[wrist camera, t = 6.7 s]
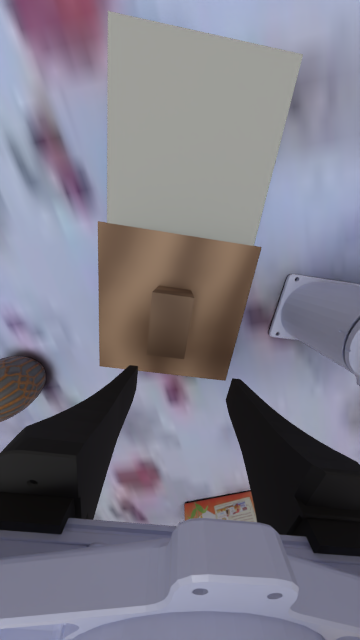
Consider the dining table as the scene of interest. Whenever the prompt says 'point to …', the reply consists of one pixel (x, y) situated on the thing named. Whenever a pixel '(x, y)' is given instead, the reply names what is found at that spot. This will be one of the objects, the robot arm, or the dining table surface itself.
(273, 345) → the dining table surface
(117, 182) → the mat
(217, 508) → the cracker box
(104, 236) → the lid
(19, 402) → the brown egg-shaped piece
